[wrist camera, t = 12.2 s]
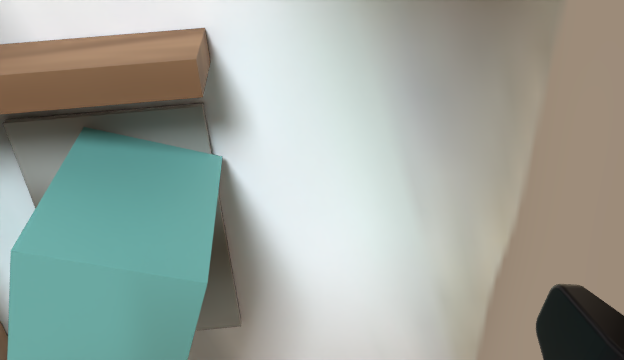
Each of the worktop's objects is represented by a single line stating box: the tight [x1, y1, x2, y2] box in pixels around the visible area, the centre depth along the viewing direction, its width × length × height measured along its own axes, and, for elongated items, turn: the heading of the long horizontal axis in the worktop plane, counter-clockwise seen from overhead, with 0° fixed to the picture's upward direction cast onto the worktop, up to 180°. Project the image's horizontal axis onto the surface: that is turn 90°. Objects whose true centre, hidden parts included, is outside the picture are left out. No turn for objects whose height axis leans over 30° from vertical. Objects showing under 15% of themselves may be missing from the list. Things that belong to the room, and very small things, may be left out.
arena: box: [0, 28, 241, 360], centre depth 22 cm, size 15×12×3 cm
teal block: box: [7, 127, 222, 360], centre depth 20 cm, size 5×9×7 cm, turn 164°
